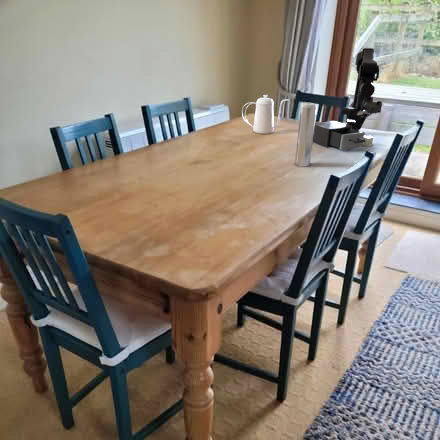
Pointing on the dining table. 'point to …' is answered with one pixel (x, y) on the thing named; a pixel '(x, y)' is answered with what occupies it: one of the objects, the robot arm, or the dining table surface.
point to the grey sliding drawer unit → (326, 131)
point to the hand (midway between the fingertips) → (358, 129)
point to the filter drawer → (346, 138)
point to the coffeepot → (264, 115)
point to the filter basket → (368, 140)
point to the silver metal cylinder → (305, 134)
